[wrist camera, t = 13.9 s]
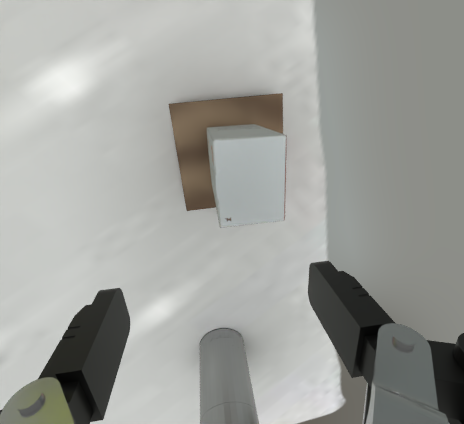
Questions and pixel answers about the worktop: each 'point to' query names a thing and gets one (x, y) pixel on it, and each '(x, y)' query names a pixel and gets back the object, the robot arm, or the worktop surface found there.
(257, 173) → the small box
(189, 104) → the walnut stand
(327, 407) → the worktop surface
